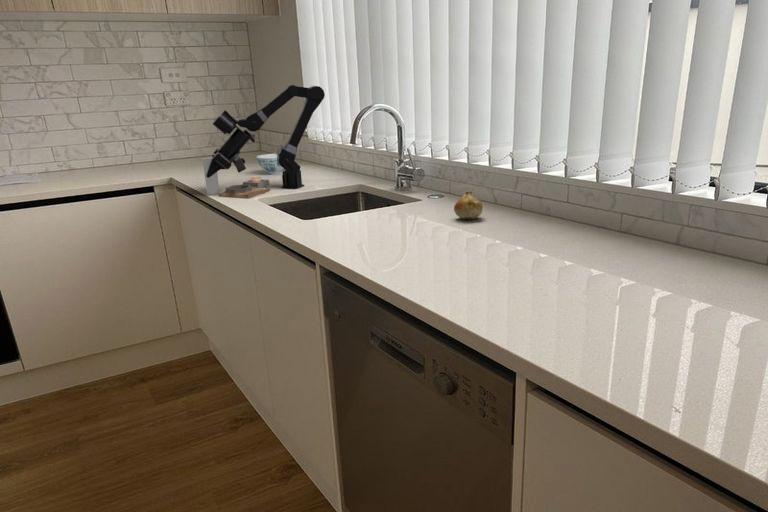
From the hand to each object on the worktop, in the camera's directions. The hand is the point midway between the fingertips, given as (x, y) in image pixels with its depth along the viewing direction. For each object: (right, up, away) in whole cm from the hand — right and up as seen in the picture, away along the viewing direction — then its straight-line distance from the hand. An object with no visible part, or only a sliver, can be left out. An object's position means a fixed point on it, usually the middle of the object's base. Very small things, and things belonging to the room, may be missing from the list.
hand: (207, 176), depth 207 cm
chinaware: (+16, +7, +44) cm, 48 cm away
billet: (+2, -6, +2) cm, 7 cm away
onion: (+87, -19, -47) cm, 101 cm away
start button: (+15, -2, +12) cm, 19 cm away
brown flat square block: (+14, -6, 0) cm, 15 cm away
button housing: (+15, -3, +12) cm, 20 cm away
